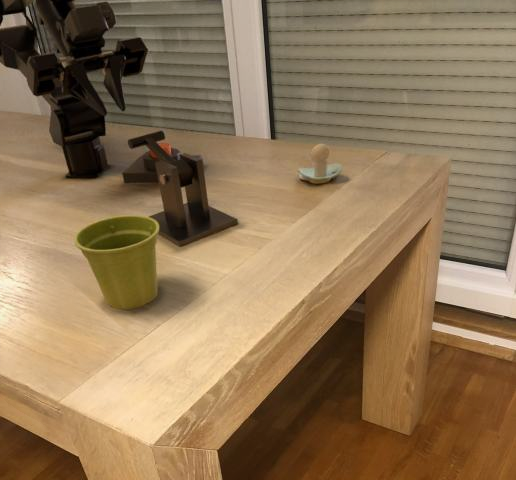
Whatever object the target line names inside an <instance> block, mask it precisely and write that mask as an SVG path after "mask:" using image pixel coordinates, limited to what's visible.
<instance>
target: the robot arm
mask: <svg viewBox="0 0 516 480" xmlns="http://www.w3.org/2000/svg"><path fill="white" fill-rule="evenodd" d="M75 1H76V0H0V64H1V65H3V67H5V68H8V69H12V70H17V71H19V72H20V73H21V74H22V75H23V76H24V78H25V79H26V83H27V86H28V88H29V90H30V92H31V94H32V95H33V96H35V97H42V98H43V99H44V100H45V101H46V103H48V105H49V107H50V119H49V127H48V132H49V134H50V137H51V140H52V142H53V144H56V145H58V146H60V147H61V148H62V152H63V155H64V159H65V163H66V167H67V171H68V172H67V173H65V175H64V177H65V179H96V178H99V177H100V176H101V175H102V174H103V173H104V172H106V171H107V170H108V169H109V168H110V167H111V165H110V163H108V159H107V154H106V151H105V150H106V149H105V146H104V144H102V143H101V138H100V137H106V135H107V131H106V130H107V128H106V117H107V114H108V110H107V108H106V106H105V104H104V102H103V100H102V99H101V97H100V95H99V94H98V92H97V90H96V89H95V87H94V85H93V84H92V82H91V80H90V79H89V77H88V74H89V73H94V72H99V71H101V73H102V74H103V76H104V79H103V83H102V84H103V86H104V87H105V89H106V91H107V92H108V93H109V95H110V97H111V99H112V100H113V101H114V103H115V104H116V106H117V107H118V109H120V111H121V112H125V111H126V108H127V107H126V100H125V95H124V90H123V84H122V79H123V77H124V78H127V77H133V76H138V75H139V74H141V73H142V72H143V70H144V65H145V63H146V58H147V56H148V51H149V48H148V46H147V44H146V42H145V41H144V39H143V38H142V37H140V36H132V37H128V38H122V39H118V40H117V41H116V46H115V50H114V51H113V50H109V51H105V52H103V50H102V48H105V47H106V40H105V37H104V35H105V34H106V32H108V31H109V30H110V29H113V28H114V27H115V25H116V23H117V17H116V14H115V11H114V9H113V8H112V6H111V4H110V3H109V2H108V1H100V2H96V4H95V5H89V6H82V7H77V5H76V3H75ZM33 2H35V3H34V8H35V10H36V13H37V19H38V24H39V25H40V26H45V28H46V29H47V31H48V33H49V35H50V37H51V39H52V40H53V43H54V44H53V49H54V51H55V52H56V53H54V52H47V53H40V52H39V50H38V49H39V46H38V45H39V44H38V31H37V27H36V26H35V24H34V22H33V21H32V20H31V18H30V17H29V15H28V14H27V7H29V6H31V4H32V3H33ZM15 14H16V15H17V14H22V15H23V17H24V18H25V24H21V25H20V24H19V25H14V26H8V27H2V28H1V26H2V23H3V21H4V16H9V15H15ZM56 54H60V55H61V57H59V58H58V57H57V55H56Z"/></svg>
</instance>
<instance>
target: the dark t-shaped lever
mask: <svg viewBox="0 0 516 480" xmlns="http://www.w3.org/2000/svg"><path fill="white" fill-rule="evenodd" d="M165 140H166V134H165V132H164V131H163V130H158V131H155V132H151V133H147V134H143V135H140V136H136V137H133V138H129V139H128V140H127V145H128V147H129V149H131V150H133V149H136V148H140V147H143V146H145V147H147V148H148V149H149V151H150V150H151V151H152V152H153V153H154V154H155V155H156V156H157V157H158V158H159V159H160V160H161V161H164V162H166V163H169V164H171V165H173V166H176V167H177V168H178V174H179V180H180V186H181V188H185V186H187V185H190V184H192V179H193V169H192V168H191V167H190V166H189V165H188V164H187V163H186V162H185V161H184V160H183V159H180V160H176V161H175V160H174V159H173V158H172V157H171V156H170V155H169V154H168V153H167V152H166V151H165V150H164V149H163V148H162V147H161V146H160V145H159V144H158V143H159V142H161V141H165Z"/></svg>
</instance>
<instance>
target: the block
mask: <svg viewBox="0 0 516 480" xmlns="http://www.w3.org/2000/svg"><path fill="white" fill-rule="evenodd" d="M170 148H171V154H172V155H170V156H171V157H172V158H173V159H174V160H175V161H176V160H180V154H181V151H180V150H179V149H177V148H173V147H170ZM191 155H192V156H195V157H197V158H200V159H202V161H203V159H204V158H203V155H201V154H198V155H197V154H196V155H195V154H191ZM157 161H160V159H159V158H153V157H151V153H150V150H149V151H146V152H144V153H143V154H142V155H140V156H139V157H137V159H136V160H135V161H134V162H132V163H131V164H130V165H129V166H128V167H127V168H126V169H125V170H124V171H123V172H121V174H122V179H123V183H124V184H159V181H158V175H157V170H156V165H155V162H157ZM203 162H204V161H203Z"/></svg>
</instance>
